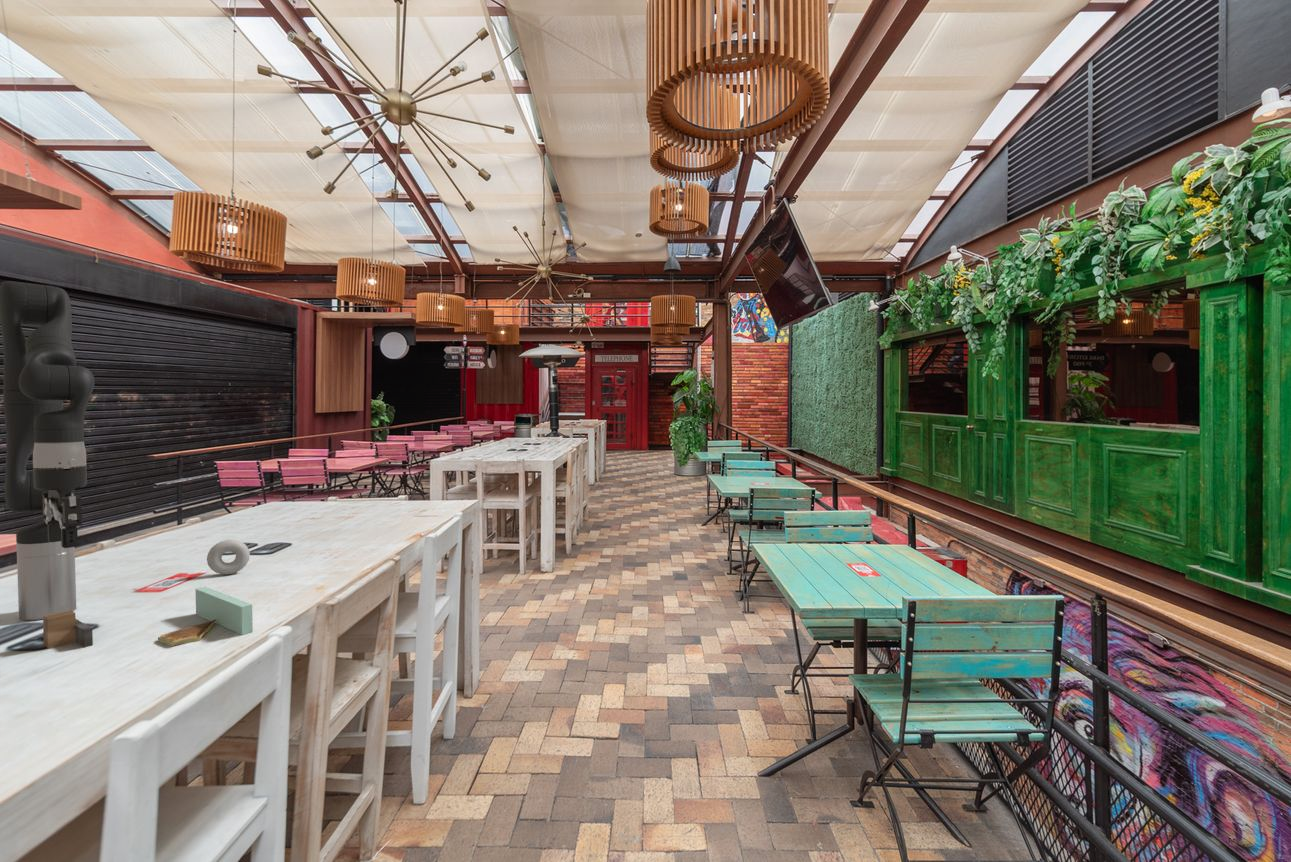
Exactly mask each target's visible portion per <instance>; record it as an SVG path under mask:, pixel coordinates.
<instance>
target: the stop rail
mask: <svg viewBox="0 0 1291 862" xmlns="http://www.w3.org/2000/svg"><path fill="white" fill-rule="evenodd" d="M195 615H196V616H198V617H201V618H203V619H205V620H208V621H213V620H215V619H216V621H215V622H214V624H216V625H218V626H221V627H223V628H226V629H228V630H230V631H232V632H234V633H237V634H239V635H242V636H243V635H247V634H251V633H253V632H254V631H253V630H254V629H253V628H254V627H253V604H252V603H249V602H247V601H245V600H241V599H239V598H236V597H233V596H231V595H229V594H226V593H223V592H220V591H218V590H215V589H213V588H211V587H207V586H202V587H199V588H198V587H197V588H195Z"/></svg>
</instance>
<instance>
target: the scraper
mask: <svg viewBox="0 0 1291 862" xmlns="http://www.w3.org/2000/svg"><path fill="white" fill-rule="evenodd" d="M42 627H43V629H42V630H43V632H42V633H43V646H44V647H45V648H46V649H48V650H50V649H53V648H56V647H62V646H65V645H70V644H74V643H77V644H79V645H80V646H82V647H83V648H88V647H92V646H93V645H94V644H93V643H94V642H93V641H94V640H93V639H94V638H93V628H92V627H91V626H89V625H88V624H86V623H84V622H82V621H81V620H79V619H77V618H76V612H75V611H71V610H69V611H64V612H60V613H55V614H50V615H46V616H43V619H42Z"/></svg>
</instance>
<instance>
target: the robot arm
mask: <svg viewBox="0 0 1291 862" xmlns="http://www.w3.org/2000/svg"><path fill="white" fill-rule="evenodd" d="M71 304H72V302H71V300H70V297H69V294H68V292H67V291H66V290H65V289H63V288H61V287H59V286H53V285H47V284H39V283H30V282H23V281H22V282H20V281H14V280H13V281H12V280H5V281H3V282H2V283H1V284H0V330H1V332H0V333H1V339H2V349H3V350H2V351H3V383H2V384H3V386H2V387H3V390H2V391H3V395H2V396H3V408H4V409H3V410H4V411H3V412H4V424H5V436H6V438H5V439H6V450H5V452H6V455H5V472H4V473H5V476H4V499H5V500H4V501H5V504H6V508H7V509H8V510H9V512H13V513H25V512H26V513H27V512H38V511H39V512H41V511H42V519H43V520H42V521H41V520H40V521H38V522H36V523H34V524H29V525H26V526H24V527H22V528H20V529H18V530H17V531H16V534H15V539H16V541H15V542H16V565H17V567H16V570H17V571H16V572H17V597H18V599H17V601H18V603H17V604H18V619H20V620H21V621H35V620H43V616H46V615H50V614H55V613H60V612H64V611H69V610H71V611H73V612H75V610H77V582H76V581H77V580H76V552H75V551H76V549H75V548H76V547H78V546H79V539H78V537H79V536H78V528H80V526H82V525H83V523H84V521H83V513H82V512H83V511H82V497H81V495H80V494H79V495H75V489H79V488H84V487H85V486H87V484H88V478H87V477H88V476H87V474H88V473H87V472H88V470H87V449H86V446H85V442H84V441H85V433H84V432H85V431H84V427H85V426H84V425H85V424H84V421H85V415H86V411H87V407H88V404H89V401H90V399H91V396H92V393H93V391H94V388H95V383H96V382H95V377H94V375H93V373H92V372H91V370H89V369H88V368H87V367H85V366H81V365H77V358H76V355H75V351H74V350H75V349H74V347H73V344H72V342H73V341H72V333H73V322H72V319H73V318H72V315H73V314H72V305H71ZM22 325H29V326H39V327H37V328H35V329H34V330H33V331H32V332H31V333H30V334H29V335H28V337H26V335H25V332H24V331H23V327H22ZM64 401H69V404H68V405H67V406H66V407H65V408H64ZM31 454H32V466H33V467H32V469H33V470H27V469H26V467H27V463H28V461H29V459H30V457H31Z"/></svg>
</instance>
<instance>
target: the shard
mask: <svg viewBox="0 0 1291 862" xmlns="http://www.w3.org/2000/svg"><path fill="white" fill-rule="evenodd" d="M215 621H216V619H215V620H213V621H210V620H208V621H206V622H203V623H200V624H196V625H190V626H187V627H184V628H180V629H178V630H174V631H171V632H170V631H169V632H168V633H164V634H161V635H160V636H159V637H157V642H160V643H162V644H166V645H168V646H170V647H174V646H177V645H182V644H183V645H184V644H189V643H195V642H200V641H201V640H202V638H203V637H204V635H206V634H207V633H208V632H209V631H210V630H212V629H213V627H214V625H215V623H214V622H215Z"/></svg>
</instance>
